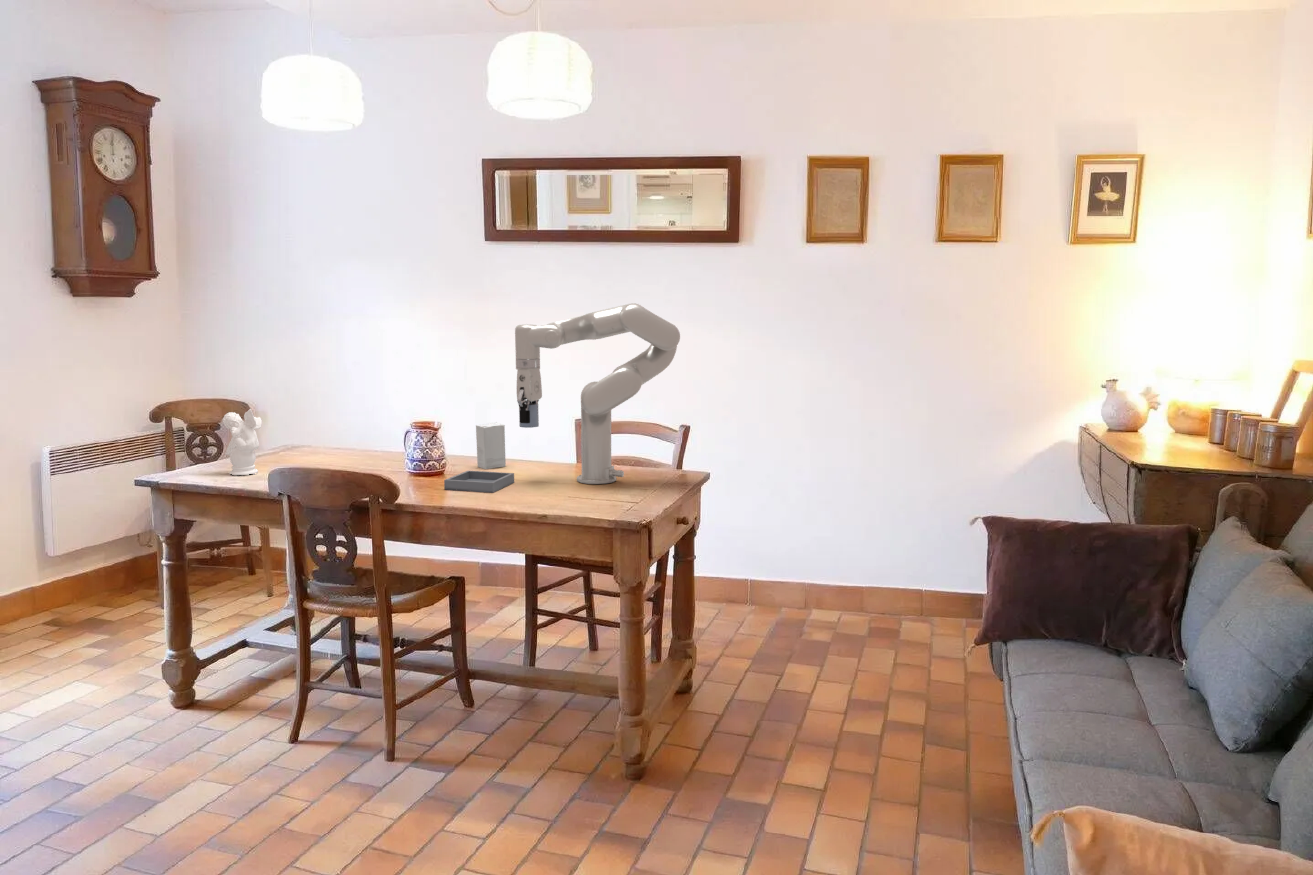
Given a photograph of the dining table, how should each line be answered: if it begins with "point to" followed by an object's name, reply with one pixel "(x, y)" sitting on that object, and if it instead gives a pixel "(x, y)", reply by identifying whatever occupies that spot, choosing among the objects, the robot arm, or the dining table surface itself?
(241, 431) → the cherub figurine
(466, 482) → the tray
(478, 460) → the skincare box
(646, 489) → the dining table surface
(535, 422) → the cup
